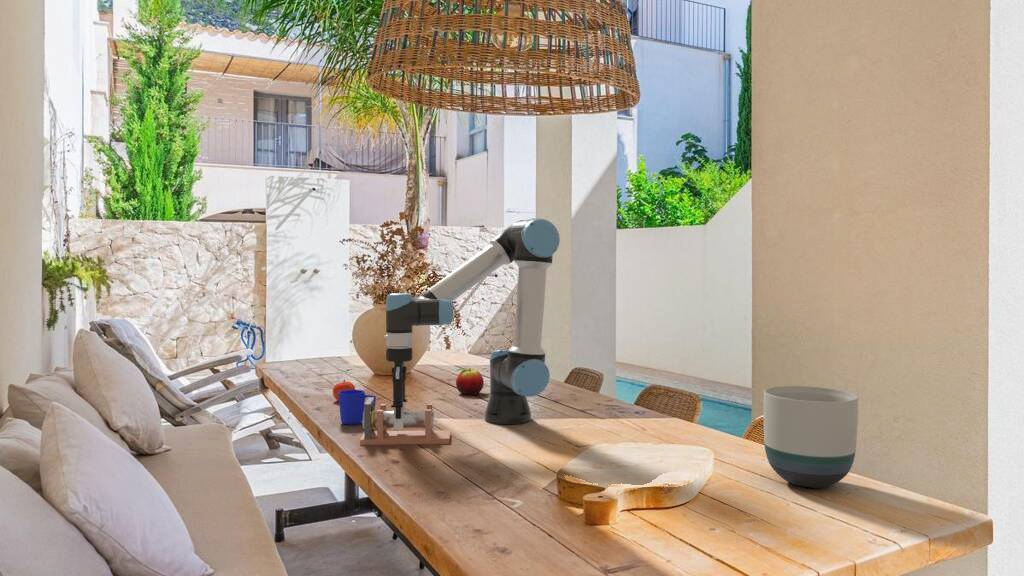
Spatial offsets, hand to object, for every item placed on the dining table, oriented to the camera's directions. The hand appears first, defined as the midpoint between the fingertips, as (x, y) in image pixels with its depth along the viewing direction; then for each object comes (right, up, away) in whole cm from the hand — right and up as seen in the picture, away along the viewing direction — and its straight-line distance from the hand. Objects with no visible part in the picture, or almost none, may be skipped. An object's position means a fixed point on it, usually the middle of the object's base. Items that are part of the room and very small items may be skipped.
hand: (399, 427), depth 212 cm
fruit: (+16, -1, +72) cm, 74 cm away
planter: (+102, -6, -40) cm, 110 cm away
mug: (-16, -3, +21) cm, 27 cm away
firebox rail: (+2, -4, 0) cm, 4 cm away
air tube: (0, 0, +1) cm, 1 cm away
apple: (-29, -2, +57) cm, 64 cm away
